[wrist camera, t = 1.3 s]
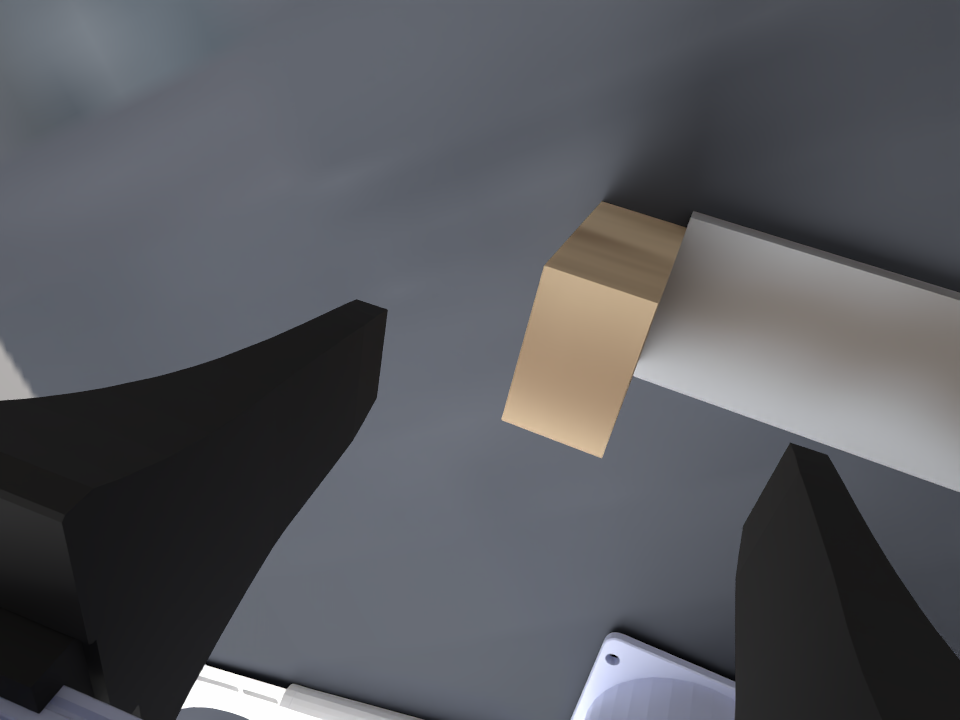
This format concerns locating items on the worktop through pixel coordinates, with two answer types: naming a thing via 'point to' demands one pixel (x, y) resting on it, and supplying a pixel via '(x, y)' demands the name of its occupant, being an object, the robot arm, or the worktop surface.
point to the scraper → (741, 340)
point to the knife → (277, 700)
